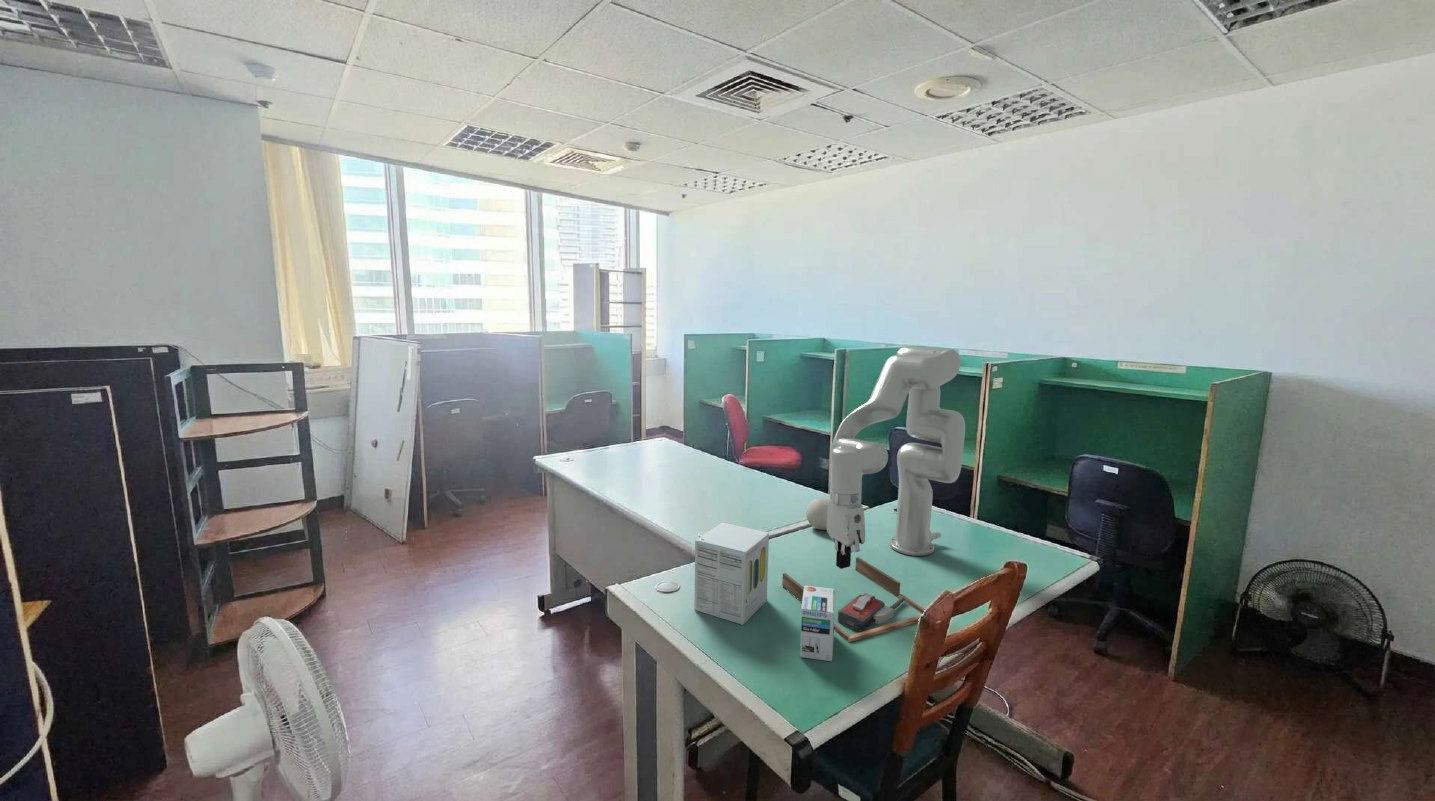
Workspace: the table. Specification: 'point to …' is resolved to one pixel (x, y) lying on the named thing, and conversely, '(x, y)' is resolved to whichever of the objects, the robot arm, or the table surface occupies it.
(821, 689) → the table surface
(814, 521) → the eye model
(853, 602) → the walkie-talkie
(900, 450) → the robot arm
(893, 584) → the brown wooden frame
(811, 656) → the light bulb box
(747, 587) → the supplement box
